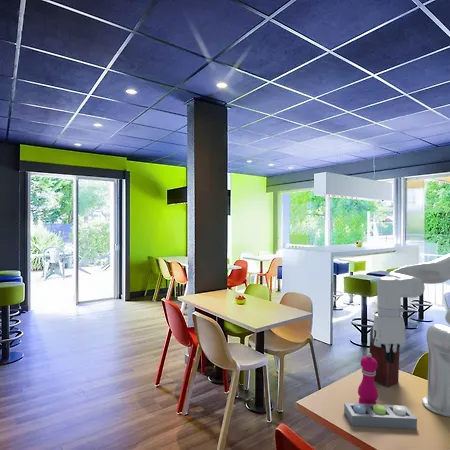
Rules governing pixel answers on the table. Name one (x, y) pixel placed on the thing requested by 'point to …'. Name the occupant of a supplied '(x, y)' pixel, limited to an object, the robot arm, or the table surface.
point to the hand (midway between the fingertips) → (389, 361)
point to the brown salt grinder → (384, 365)
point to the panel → (380, 417)
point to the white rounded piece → (399, 410)
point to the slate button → (359, 409)
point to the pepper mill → (368, 381)
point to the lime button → (379, 409)
